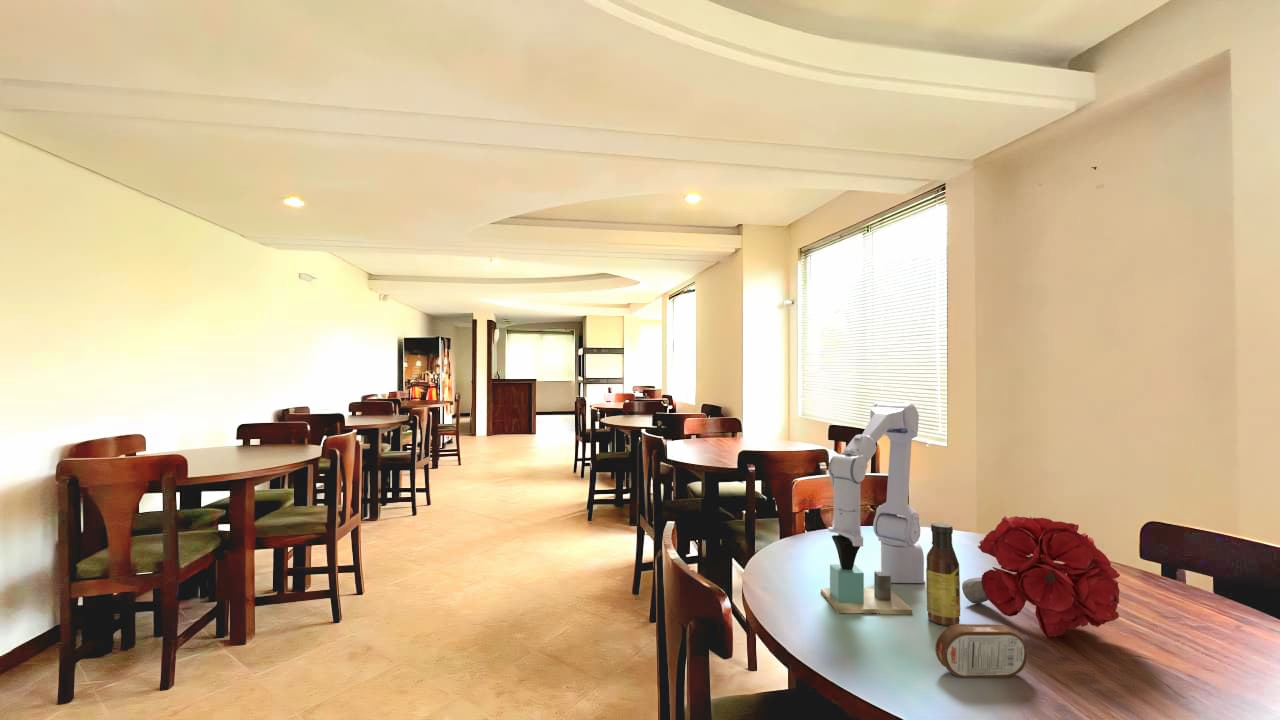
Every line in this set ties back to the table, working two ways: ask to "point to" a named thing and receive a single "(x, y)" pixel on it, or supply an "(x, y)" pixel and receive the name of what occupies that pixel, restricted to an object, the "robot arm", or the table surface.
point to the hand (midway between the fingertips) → (846, 569)
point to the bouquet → (1047, 575)
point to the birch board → (873, 599)
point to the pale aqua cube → (846, 584)
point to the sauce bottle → (942, 577)
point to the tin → (981, 651)
